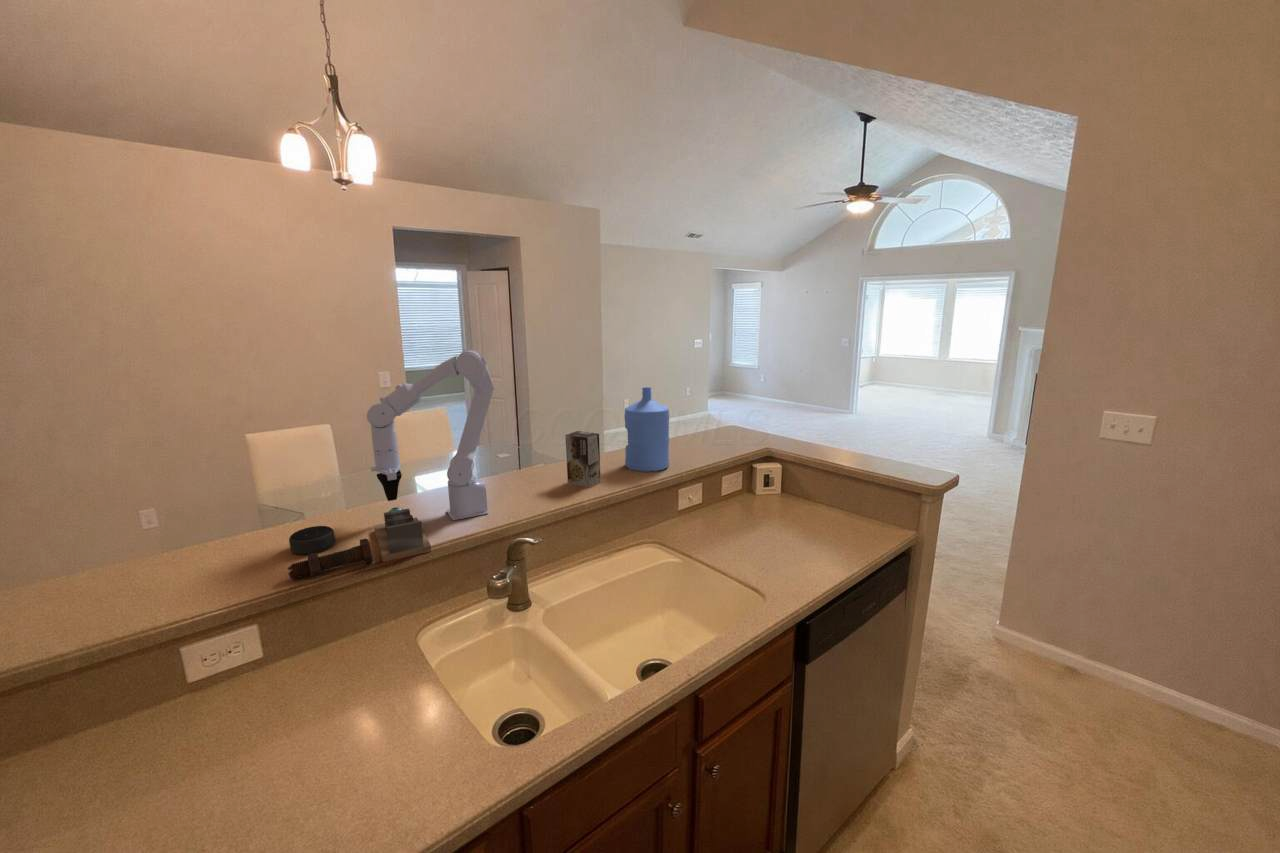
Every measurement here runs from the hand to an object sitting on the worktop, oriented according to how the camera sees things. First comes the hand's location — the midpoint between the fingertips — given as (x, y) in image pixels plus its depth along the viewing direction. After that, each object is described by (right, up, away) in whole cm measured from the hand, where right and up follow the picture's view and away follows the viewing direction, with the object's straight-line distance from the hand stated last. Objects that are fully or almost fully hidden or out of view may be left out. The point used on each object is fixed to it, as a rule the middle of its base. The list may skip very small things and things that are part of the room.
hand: (392, 499), depth 136 cm
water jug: (+67, +5, +49) cm, 83 cm away
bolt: (-1, -12, -25) cm, 28 cm away
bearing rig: (+8, -8, -11) cm, 16 cm away
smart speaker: (-11, -9, -14) cm, 21 cm away
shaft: (+8, -6, -12) cm, 15 cm away
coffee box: (+47, +1, +31) cm, 56 cm away
